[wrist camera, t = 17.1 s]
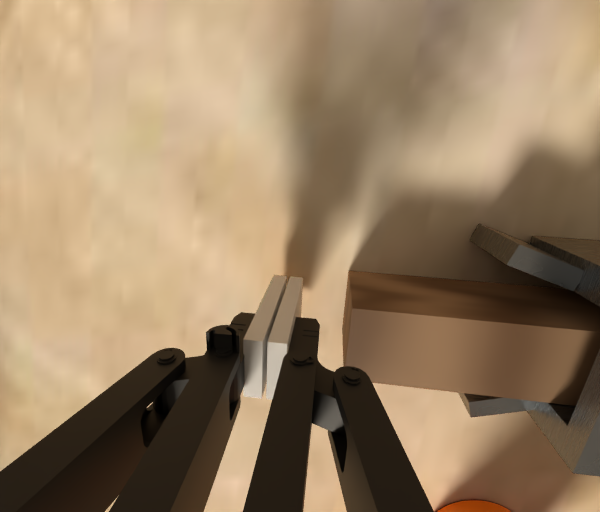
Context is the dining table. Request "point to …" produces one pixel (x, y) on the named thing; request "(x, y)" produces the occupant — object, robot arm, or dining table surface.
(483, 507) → the shaker bottle
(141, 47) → the dining table surface
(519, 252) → the end cap
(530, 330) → the brown wooden block
